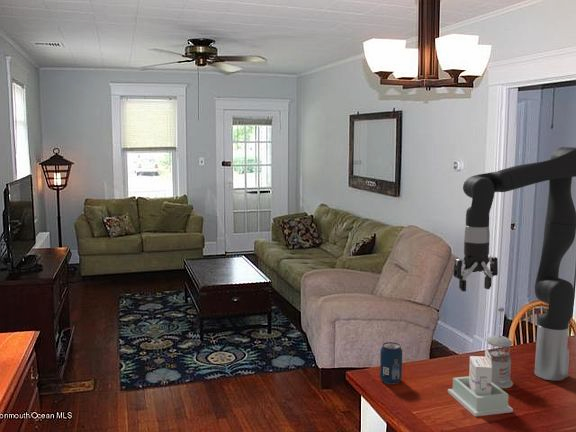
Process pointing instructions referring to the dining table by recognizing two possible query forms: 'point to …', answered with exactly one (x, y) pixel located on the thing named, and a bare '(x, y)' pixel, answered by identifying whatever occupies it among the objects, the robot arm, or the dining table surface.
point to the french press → (500, 359)
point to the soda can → (391, 363)
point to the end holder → (480, 398)
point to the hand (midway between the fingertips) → (475, 289)
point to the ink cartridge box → (480, 374)
